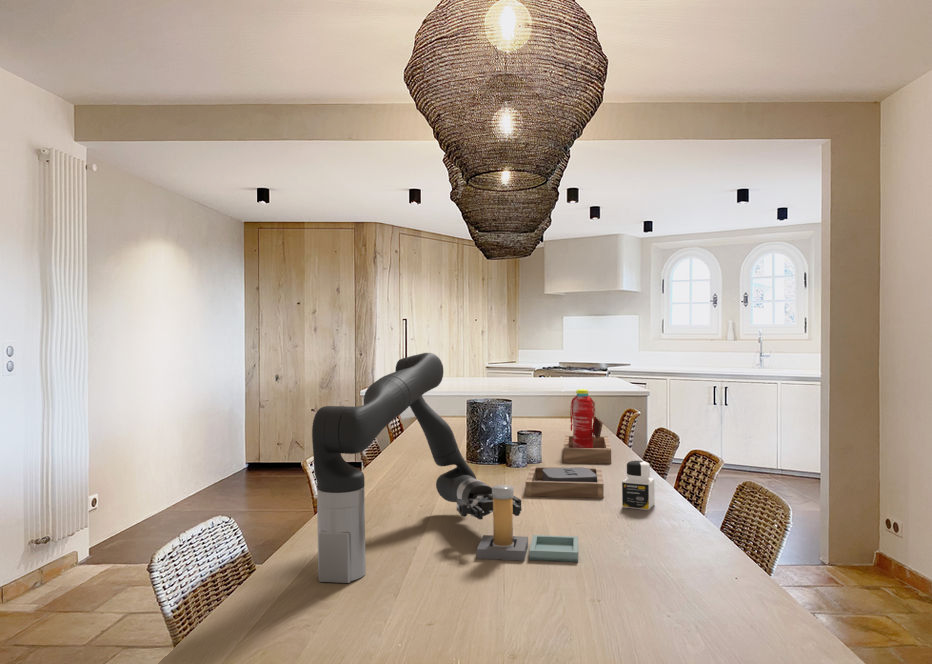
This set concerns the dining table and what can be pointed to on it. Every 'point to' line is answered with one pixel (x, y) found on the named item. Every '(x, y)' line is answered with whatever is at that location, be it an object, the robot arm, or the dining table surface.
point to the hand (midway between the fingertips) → (499, 513)
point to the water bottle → (584, 420)
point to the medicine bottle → (638, 486)
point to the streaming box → (569, 474)
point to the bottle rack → (588, 451)
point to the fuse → (502, 516)
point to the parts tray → (554, 548)
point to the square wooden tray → (563, 485)
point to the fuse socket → (502, 549)
